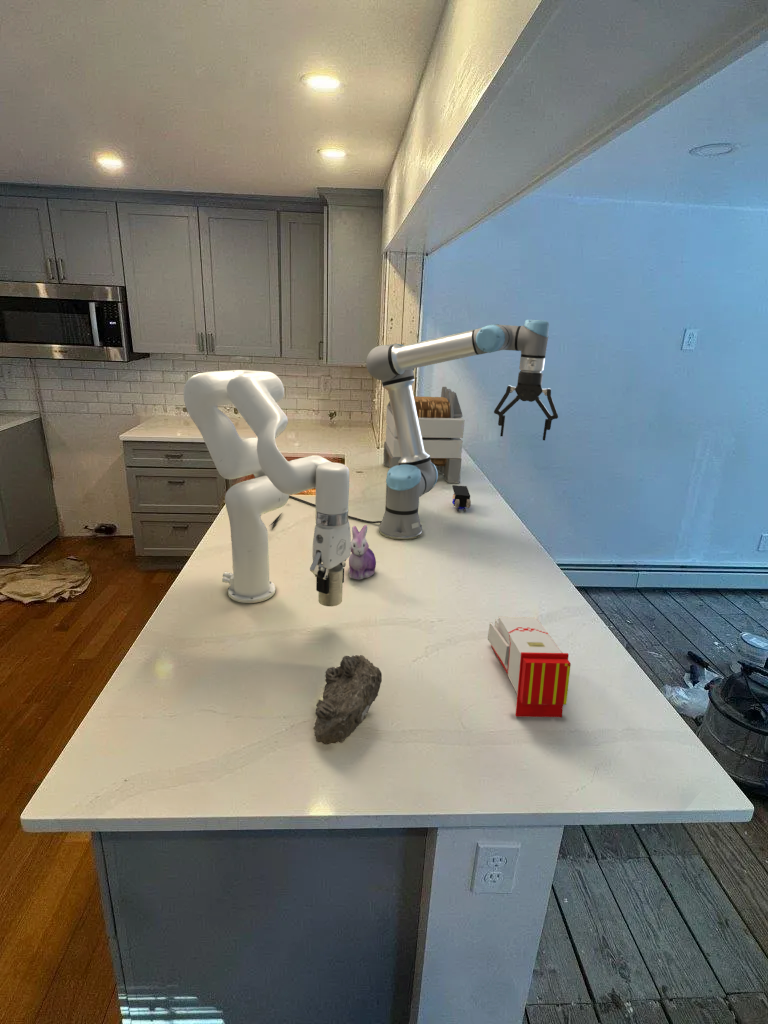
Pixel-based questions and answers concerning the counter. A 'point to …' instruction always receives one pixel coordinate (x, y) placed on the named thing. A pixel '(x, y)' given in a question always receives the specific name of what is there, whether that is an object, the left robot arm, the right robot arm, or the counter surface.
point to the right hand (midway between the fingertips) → (522, 437)
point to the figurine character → (461, 497)
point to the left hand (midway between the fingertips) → (330, 586)
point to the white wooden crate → (433, 433)
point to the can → (333, 587)
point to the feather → (275, 521)
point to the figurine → (361, 555)
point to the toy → (531, 665)
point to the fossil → (346, 698)
